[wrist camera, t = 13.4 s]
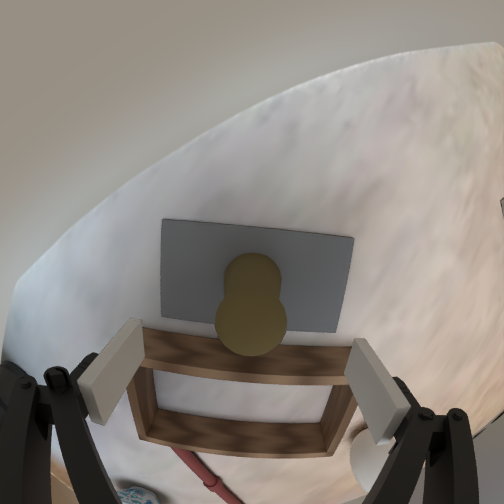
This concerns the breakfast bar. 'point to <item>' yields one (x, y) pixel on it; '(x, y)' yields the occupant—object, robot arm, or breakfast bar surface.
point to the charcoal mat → (253, 241)
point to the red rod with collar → (205, 476)
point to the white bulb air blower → (368, 458)
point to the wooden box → (242, 370)
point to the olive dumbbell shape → (251, 306)
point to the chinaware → (137, 496)
